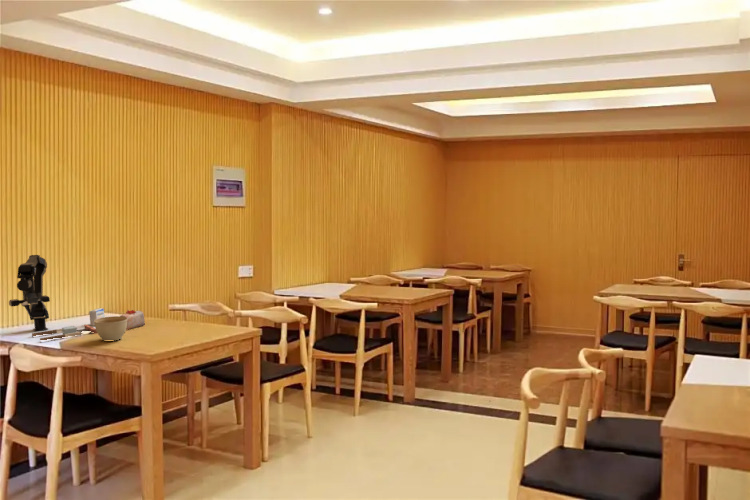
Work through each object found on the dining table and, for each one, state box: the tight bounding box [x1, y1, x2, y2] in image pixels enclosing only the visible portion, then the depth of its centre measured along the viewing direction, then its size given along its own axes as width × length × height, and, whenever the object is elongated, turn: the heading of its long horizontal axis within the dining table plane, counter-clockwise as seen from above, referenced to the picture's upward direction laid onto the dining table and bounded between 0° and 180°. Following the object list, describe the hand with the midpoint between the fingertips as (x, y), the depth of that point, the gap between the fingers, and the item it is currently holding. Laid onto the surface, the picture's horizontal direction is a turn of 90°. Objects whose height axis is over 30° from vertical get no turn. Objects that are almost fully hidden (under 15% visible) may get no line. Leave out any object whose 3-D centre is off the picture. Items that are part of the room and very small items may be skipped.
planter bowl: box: [94, 315, 128, 341], centre depth 362 cm, size 16×16×11 cm
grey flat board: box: [31, 324, 98, 341], centre depth 376 cm, size 17×28×2 cm, turn 130°
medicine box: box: [88, 307, 105, 327], centre depth 400 cm, size 8×4×9 cm, turn 168°
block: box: [61, 325, 78, 335], centre depth 377 cm, size 6×6×4 cm
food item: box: [120, 309, 146, 331], centre depth 390 cm, size 14×8×10 cm, turn 150°
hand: (30, 316), depth 372 cm, fingers closed
